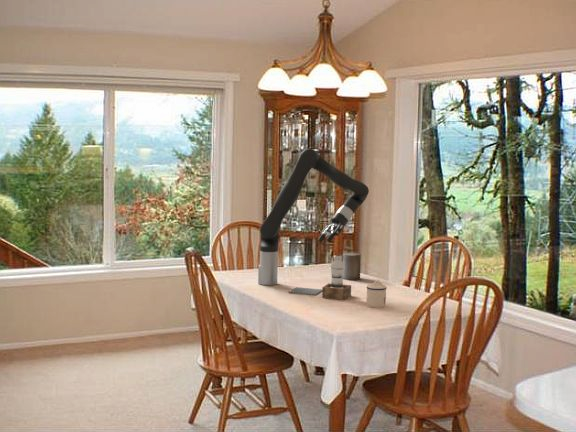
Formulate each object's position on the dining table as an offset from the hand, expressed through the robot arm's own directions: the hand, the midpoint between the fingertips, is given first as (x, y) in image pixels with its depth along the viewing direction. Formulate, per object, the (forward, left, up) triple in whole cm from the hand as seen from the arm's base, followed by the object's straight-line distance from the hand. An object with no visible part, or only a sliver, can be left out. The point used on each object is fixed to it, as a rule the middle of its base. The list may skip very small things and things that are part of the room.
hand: (323, 241), depth 346 cm
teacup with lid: (+29, -14, -26) cm, 42 cm away
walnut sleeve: (+8, -4, -26) cm, 27 cm away
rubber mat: (-9, 0, -26) cm, 27 cm away
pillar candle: (+3, +43, -26) cm, 51 cm away
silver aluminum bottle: (+8, -4, -26) cm, 28 cm away
